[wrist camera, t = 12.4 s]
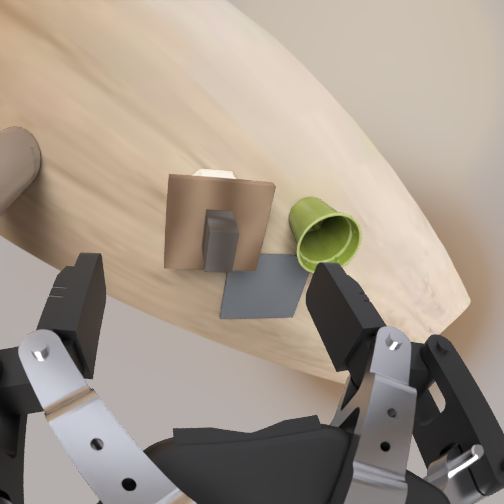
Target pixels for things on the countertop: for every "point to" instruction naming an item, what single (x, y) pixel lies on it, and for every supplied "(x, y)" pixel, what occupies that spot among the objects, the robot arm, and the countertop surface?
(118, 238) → the countertop surface
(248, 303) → the mat
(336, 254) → the plant pot
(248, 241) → the lid
